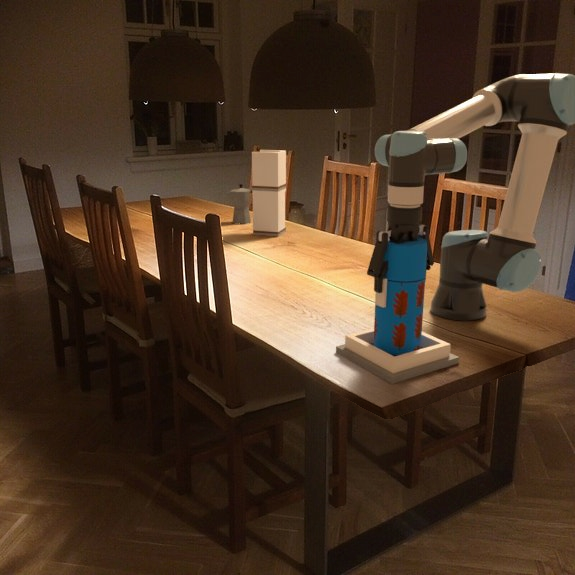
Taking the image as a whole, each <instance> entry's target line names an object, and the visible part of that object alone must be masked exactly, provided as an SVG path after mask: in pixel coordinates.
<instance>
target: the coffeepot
mask: <svg viewBox="0 0 575 575" xmlns="http://www.w3.org/2000/svg"><path fill="white" fill-rule="evenodd" d="M251 193H252V188H244V187H243V184H242V183H239V187H237V188H235V189H231V190H228V191H227V194H228V195H229V196H230V198H231V200H232V202H233V205H234V206H233V216H232V222H233V223H232V224H234V223H238V224H237V225H246V224H245V223H249V224H251V223H252V219H251V214H250V208H249V204H250V197H251ZM250 206H251V207H253V203H251V204H250ZM250 222H251V223H250ZM239 223H241V224H239Z"/></svg>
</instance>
